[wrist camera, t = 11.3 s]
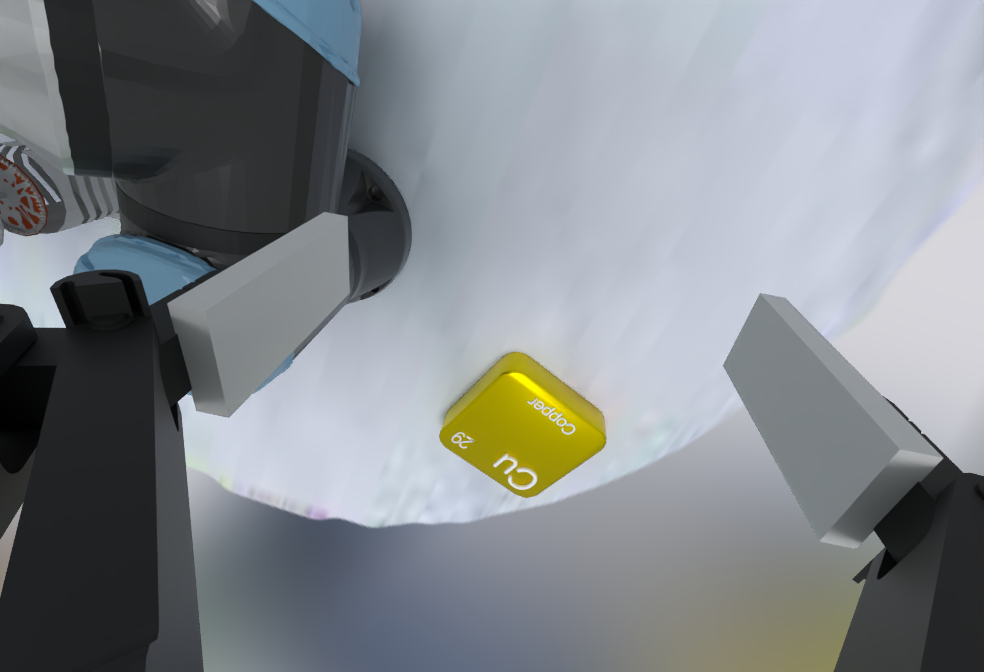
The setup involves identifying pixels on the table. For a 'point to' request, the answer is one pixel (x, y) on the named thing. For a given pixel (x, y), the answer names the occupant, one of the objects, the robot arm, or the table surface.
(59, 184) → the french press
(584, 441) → the element tile
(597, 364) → the table surface
